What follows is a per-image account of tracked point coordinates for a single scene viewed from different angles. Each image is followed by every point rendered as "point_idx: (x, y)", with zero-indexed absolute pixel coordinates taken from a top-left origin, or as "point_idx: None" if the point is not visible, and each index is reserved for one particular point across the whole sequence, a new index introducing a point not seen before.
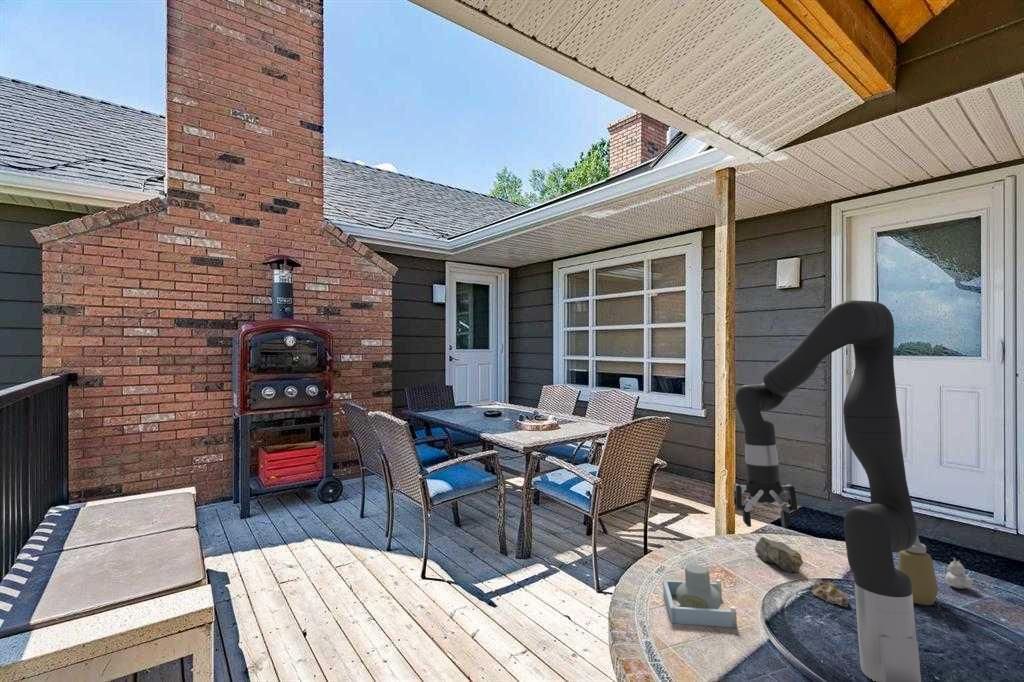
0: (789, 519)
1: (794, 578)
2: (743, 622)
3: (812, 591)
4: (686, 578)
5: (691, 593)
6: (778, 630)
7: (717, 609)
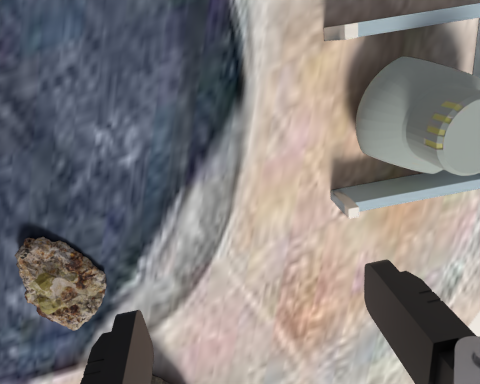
0: (84, 375)
1: None
2: (300, 67)
3: (103, 283)
4: None
5: (465, 74)
6: (216, 47)
7: (391, 29)
